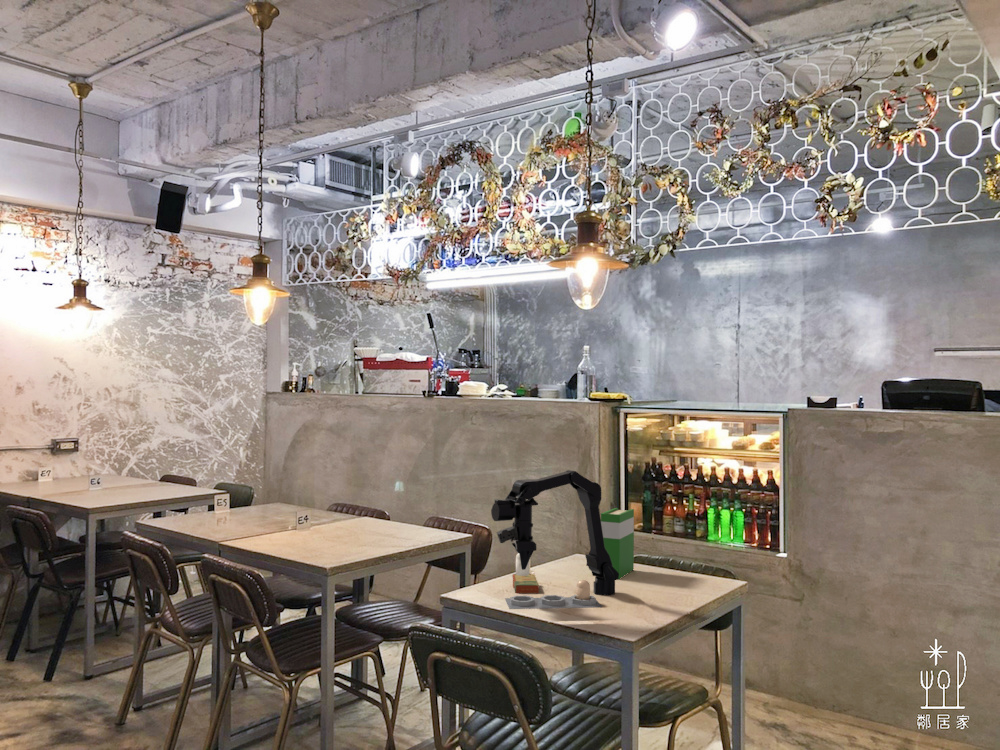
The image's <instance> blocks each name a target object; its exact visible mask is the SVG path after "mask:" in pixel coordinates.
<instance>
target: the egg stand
mask: <svg viewBox="0 0 1000 750" xmlns="http://www.w3.org/2000/svg"><path fill="white" fill-rule="evenodd" d="M504 600H505V602H506V605H507V606H508V609H509V610H527V609H528V610H533V609H534V610H535V609H538V610H539V609H540V610H541V609H588V608H589V609H590V608H593V609H594V608H596V609H597V608H600V609H601V608H603V605H602V604H600V602H599V601H598V600H597V599H596V597H595V596H594V595H590V599H589V600H580V599H576V594H574V595H571V596H567V597H564V596H562V595H558V594H546V595H542V596H540V597H534V596H530V595H514V596H511V597H509V598H508V597H507V598H504Z"/></svg>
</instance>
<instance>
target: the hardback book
mask: <svg viewBox="0 0 1000 750" xmlns="http://www.w3.org/2000/svg"><path fill="white" fill-rule="evenodd" d="M600 519H601V525H602V532H603V539H604V546H605V549H606V551H607V552H608V554H609V556H610V558H611V562H612V565H613V568H614V569H615V570H616V571H617V572H618V573H619V577H618V580H621V579H622V578H621V577H623V576H624V575H626V574H627V573H629V572H630V571H632V570H633V569H634V566H635V565H634V562H635V561H634V559H635V558H634V550H635V549H634V548H635V545H634V541H635V539H634V538H635V536H634V535H635V528H634V526H635V509H634V508H631V509H628V510H627V509H626V510H625V509H624V510H623V509H619V507H615V508H612V509H609V510H606V511H604V512H602V513H600ZM633 571H634V570H633ZM633 571H632V572H633ZM630 573H631V572H630ZM630 573H629V574H630ZM627 575H628V574H627ZM627 575H626V576H627ZM624 577H625V576H624ZM624 577H623V578H624ZM620 578H621V579H620Z"/></svg>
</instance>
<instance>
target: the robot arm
mask: <svg viewBox="0 0 1000 750" xmlns="http://www.w3.org/2000/svg"><path fill="white" fill-rule="evenodd" d="M566 485H570V486H571V488H573V489H574V490H575V491H576V493H577V495H578V499H579V501H580V503H581V505H582V506H583V508H584V512H585V518H586V526H587V533H588V540H589V547H590V550H589V552H588V553H586V554H585V560H586V565H585V566H586V567H588V569H589V571H591V575H592V576H593V577H595V578H594V580H595V581H593V594H594V595H598V596H613V595H616V581H617V580H619V579H618V577H619V573H618V572H617V571H616V570H615V569H614V568H613V565H612V562H611V558H610V556H609V554H608V552H607V551H606V549H605V546H604V539H603V532H602V525H601V513H600V504H601V501H602V487H601V485H600V484H599V483H598V482H595V481H592V480H591V479H588V478H586V477H585V476H583V475H582V474H580V473H579V472H578V471H576V470H571V469H568V470H565V471H562V472H559V473H555V474H551V475H548V476H544V477H540V478H537V479H534V478H533V479H532V478H530V479H528V478H527V479H518V480H515V481H514V482H513V485H512V487H511V490H510V491H509V493H508V494H507V496H506V497H505V499H500V498H499V499H494V503H493V504H492V507H491V510H490V511H491V518H492V520H493V521H494V522H505V521H512V520H513V519H514V521H513V522H512V526H509V527H506V528H503V529H500V530H498V531H496V535H497V539H498V542H499V543H500V544H504V543H506V542H507V541H510V542H511V545H512V546H513V547H514V550H515V551H516V553H517V554H518V553H519V555H520V561H521V567H522V570H525V569H526V567H527V564H528V562H529V563H530V560H531V557H532V556H533V553H534V551H537V543H536V542H535V541H534V537H533V531H532V530H533V527H534V523H533V522H532V520H533V507H534V506H539V503H538V502H537V501H536V500H535V497H537V496H539V495H540V494H541V493H542V492H545V491H548V490H552V489H555V488H558V487H563V486H566ZM517 554H516V555H517Z"/></svg>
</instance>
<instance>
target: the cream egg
mask: <svg viewBox="0 0 1000 750" xmlns="http://www.w3.org/2000/svg"><path fill="white" fill-rule="evenodd" d="M515 574H516V575H519V576H526V575H529V574H530V561H529V562H528V564H527V567H526V569H525V570H522V567H521V561H520V555H519V553H518V554H516V555H515Z"/></svg>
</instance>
